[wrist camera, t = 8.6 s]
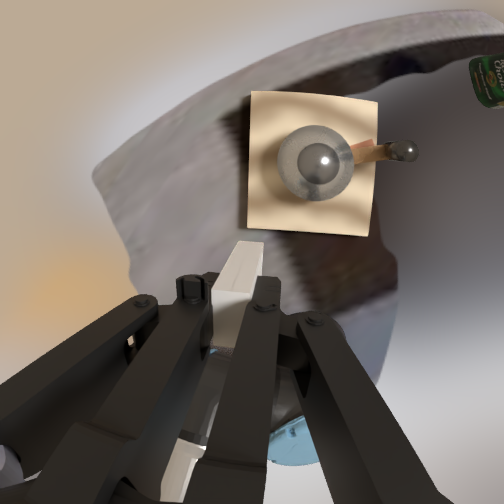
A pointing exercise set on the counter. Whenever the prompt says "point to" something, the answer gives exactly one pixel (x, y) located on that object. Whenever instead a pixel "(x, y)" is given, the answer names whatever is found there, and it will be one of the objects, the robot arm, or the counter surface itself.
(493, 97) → the coffee jar
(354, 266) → the counter surface
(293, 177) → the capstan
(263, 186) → the stand
